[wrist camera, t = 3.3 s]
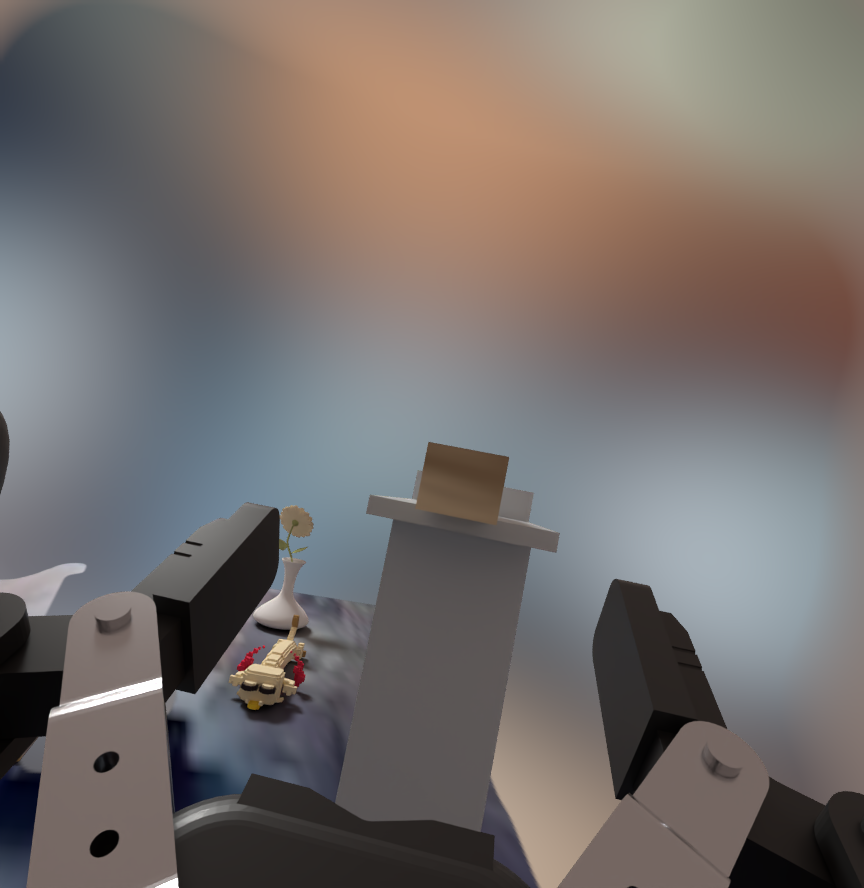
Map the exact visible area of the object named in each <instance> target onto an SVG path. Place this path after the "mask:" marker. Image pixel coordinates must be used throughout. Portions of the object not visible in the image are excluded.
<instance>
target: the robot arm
mask: <svg viewBox="0 0 864 888" xmlns="http://www.w3.org/2000/svg"><path fill="white" fill-rule="evenodd" d="M8 459H9V435H8V429H7V425H6V422H5V419H4V417H3V415H2V413H1V412H0V493H1V490H2V487H3V483H4V479H5V474H6V470H7V465H8ZM279 524H280V515H279V511H278V509H277V508H273V507H268V506H263V505H258V504H253V503H249V502H247V503H244V504H243V505H242V506H241V507H240V508H239V509H238V510H237V511H236V512H235V513H234V514H233V515H232V516H231V517H230V518H229V519H224V518H219V519H217V520H214V521H212V522H210V523H208V524H206V525H204V526H202V527H200V528H199V529H198V530H197V531H195V532H194V533H193V534H192V535H191V536H190V537H189V538H188V539H187V540H186V542H185V543H183V544H181V545H180V547H178V548H177V549H176V550H175V551H174V554H171V555H170V556H169V557H167V559H165V560H164V561H163V562H162V563H161V564H160V565H159V566H158V567H157V568H156V569H155V570H153V571H152V572H151V573H150V574H149V575H148V576H147V577H146V578H145V579H144V580H143V581H142V582H141V583H139V585H137V586H136V587H135V588H134V589H133V590H132V591H131V592H117V593H111V594H107V595H104V596H101V597H98V598H96V599H94V600H92V601H90V602H88V603H87V604H85V605H84V606H82V607H81V608H80V609H79V610H78V611H76V613H75V614H74V615H62V616H28V613H27V609H26V604H25V602H24V600H23V599H22V598H20V597H19V596H17V595H14V594H10V593H0V780H1V778H2V777H3V776H4V775H5V774H6V773H7V772H8V770H9V769H10V768H11V767H12V766H13V765H14V764H15V762H16V761H17V760H18V759H19V758H20V757H21V756H22V754H23V753H24V752H25V751H26V750H27V749H28V748H29V746H30V745H31V744H32V743H33V742H34V741H35V740H36V738H37V737H42V736H46V742H45V750H44V757H43V765H42V772H41V780H40V788H39V795H38V803H37V811H36V818H35V826H34V834H33V842H32V849H31V857H30V865H29V872H28V880H27V888H530V887H529V886H528V885H527V884H526V883H525V882H524V881H523V880H522V879H521V878H519V877H518V876H517V875H516V874H515V873H513V872H512V871H511V870H509V869H508V868H507V867H505V866H504V865H503V864H501V863H499V862H498V861H496V860H494V859H493V857H494V835H490V834H486V833H482V832H478V831H475V830H471V829H467V828H463V827H459V826H455V825H451V824H447V823H443V822H439V821H436V820H405V821H366V820H363V819H361V818H359V817H357V816H356V815H354V814H352V813H351V812H349V811H347V810H346V809H344V808H342V807H340V806H339V805H337V804H335V803H334V802H332V801H330V800H329V799H327V798H325V797H324V796H322V795H320V794H318V793H317V792H315V791H313V790H312V789H310V788H307V787H303V786H299V785H295V784H291V783H287V782H283V781H279V780H276V779H272V778H268V777H264V776H260V775H256V774H251V776H250V778H249V780H248V782H247V784H246V786H245V788H244V790H243V792H242V794H233V795H226V796H220V797H215V798H212V799H208V800H204V801H201V802H199V803H196V804H193V805H191V806H188V807H186V808H184V809H182V810H180V811H178V812H176V813H175V808H174V798H173V786H172V774H171V763H170V751H169V739H168V728H167V716H166V705H165V703H166V701H167V700H168V699H169V697H170V696H171V695H172V693H173V692H174V691H175V689H176V690H180V691H184V692H188V693H192V694H196V692H197V691H198V689H199V688H200V687H201V685H202V684H203V682H204V681H205V680H206V678H207V677H208V675H209V674H210V672H211V671H212V670H213V668H214V667H215V665H216V664H217V662H218V661H219V660H220V658H221V657H222V655H223V654H224V652H225V651H226V650H227V648H228V647H229V645H230V644H231V642H232V641H233V640H234V638H235V637H236V635H237V634H238V632H239V631H240V630H241V628H242V627H243V625H244V624H245V623H246V621H247V620H248V618H249V617H250V615H251V614H252V613H253V611H254V610H255V608H256V607H257V605H258V604H259V603H260V601H261V600H262V598H263V597H264V595H265V594H266V593H267V591H268V590H269V588H270V587H271V585H272V583H273V581H274V579H275V576H276V573H277V569H278V563H279ZM593 663H594V669H595V675H596V681H597V687H598V694H599V700H600V706H601V712H602V718H603V724H604V730H605V736H606V743H607V748H608V755H609V761H610V767H611V773H612V779H613V785H614V791H615V797H616V799H619V800H622V801H621V802H620V803H619V805H618V806H617V808H616V809H615V810H614V812H613V813H612V814H611V816H610V817H609V818H608V820H607V821H606V822H605V824H604V825H603V827H602V828H601V829H600V831H599V832H598V833H597V835H596V836H595V838H594V839H593V840H592V841H591V843H590V844H589V846H588V847H587V848H586V850H585V851H584V852H583V854H582V855H581V856H580V858H579V859H578V860H577V862H576V864H575V865H574V866H573V867H572V869H571V870H570V871H569V873H568V874H567V875H566V877H565V878H564V879H563V881H562V882H561V883H560V885H559V886H558V888H864V795H862V794H860V793H855V792H848V791H843V792H838V793H836V794H834V795H833V796H832V797H831V798H830V800H829V801H828V803H827V804H826V806H825V805H823V804H821V803H819V802H817V801H815V800H813V799H811V798H809V797H807V796H805V795H802V794H801V793H799V792H797V791H795V790H793V789H791V788H789V787H787V786H785V785H783V784H781V783H779V782H777V781H775V780H774V779H772V778H770V777H769V776H768V773H767V770H766V768H765V766H764V764H763V762H762V761H761V759H760V758H759V757H758V755H757V754H756V753H755V751H754V750H753V749H752V748H751V747H750V746H749V745H748V744H747V743H746V742H744V741H743V740H742V739H741V738H740V737H738V736H737V735H736V734H734V733H732V732H731V731H729V730H727V727H726V725H725V723H724V720H723V717H722V715H721V713H720V710H719V708H718V705H717V703H716V700H715V698H714V695H713V693H712V691H711V688H710V686H709V683H708V681H707V678H706V676H705V674H704V671H702V666H701V664H700V661H699V659H698V656H697V655H695V649H694V646H693V644H692V641H691V639H690V637H689V634H688V632H687V631H686V630H685V628H684V627H683V626H682V625H681V624H680V623H679V622H678V620H677V619H676V618H675V617H674V616H673V615H672V614H671V613H667V612H663V611H659V609H658V606H657V604H656V601H655V598H654V596H653V592H652V590H651V588H650V586H648V585H643V584H638V583H633V582H629V581H624V580H618V579H614V580H613V581H612V583H611V585H610V588H609V591H608V594H607V597H606V600H605V603H604V606H603V609H602V612H601V615H600V618H599V621H598V624H597V627H596V630H595V634H594V639H593Z"/></svg>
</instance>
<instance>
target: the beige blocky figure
mask: <svg viewBox="0 0 864 888" xmlns="http://www.w3.org/2000/svg"><path fill="white" fill-rule="evenodd" d="M299 616H300V615H295V614H294V616H293V619H292V627H291V630H290V633H289V635H288V638H287V640H283V639H279V640H278V642H277V643H276V644H275V645H274V646H273V647H272V650H271V652H270V653H269V654H268V655H267V657H266V658H265V659H264V660H263V661H262V664H261V665H258V664H253V661H254V659H253V658H252V656H253V653H254V654H255V653H258V649H259V650H260V649H261V647H258V649H256V648H254V651H253V652H249V653H247V654H246V656H245V659H244V660H242V661H241V663H240V664H239V665H238V667H237V670H239V671H238V672H237V673H236V675H231V676H230V679H229V683H233V686H238V684H239V685H241V686H240V690H239V692H237V695H239V696H240V699H242V700H244V701H245V702H246V703H247V704H248V706H247V708H249V709H253V710H256V709H259V708H260V707H261V706H263V704H267V705H273V704H274V703H276V702H278V703H279V702H282V701H283V700H284V697H282V698H280V694H281V689H282V685H283V684H284V687H283V691H282V692H283V693H286V695H287V696H291V694H294V695H295V694H296V690H297V687H299V684H301V683H302V682H304V680H305V674H304V671H302V670H303V666H304V664H303V663H302V661H299V659H301V658H302V657H305V655H306V651H303V648H304V644H305V643H299V645H298V647H297V645H296V643H294V642H295V641H293V639H294V636H295V634H296V630H297V628H298V624H299ZM263 648H265V646H263ZM291 659H293V660H295V661H298V665H297V666H294V669H293V673H295V677H294V680H295V681H293V680H289V679H286V678H284V676H285V672H284V670H283V669H284V667H285V666H286V665H287V663H288V662H290V661H291ZM250 665H251V666H250Z"/></svg>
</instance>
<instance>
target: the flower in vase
mask: <svg viewBox="0 0 864 888" xmlns="http://www.w3.org/2000/svg"><path fill="white" fill-rule="evenodd" d="M282 511H283V512H281V515H280V519H281V524H283V525H284V526H283V528H284V529H285V530H286V531H287V532H288V533H289V535H288V538H287V544H286V543H285V542H284V541H283V540H281V539H279V549H281V550H285V549H286V548H287V547H288V551H289V554H290V558H282V560H283V563H284V566H285V576H284V583H283V587H282V590H281V592H280V594H279V595H278V596H277V597H275V598H274V599H272V600H270V601H269V602H267V603H265V604H263V605H262V606H260V607H259V608H258V609H256V610H255V612H254V614H253V616H254V619H255V620H256V621H257V622H259V623H260V624H262V625H264V626H267V627H271V628H275V629H282V630H291V627H292V619H293V616H294V614H295V615H300V616H299V624H298V628H297V629H299V628H303V627H305V626H306V625H307V624H308V622H309V621H308V616H307V615H306V613H305V612H304V610H303V609H302V608H301V607H300V606H299V604H298V603H297V602H296V601H295V599H294V597H293V588H294V583H295V580H296V577H297V574H298V572H299V570H300V568H301V567H302V566H303V565H304V564H305V563H306V562H305V561H303V560H300V559H295V558H292V555H291V552H290V549H289V544H288V540H289V537H290V534H291V533H292V535H293V536H296V537H301V536H302V537H305V536H310V533H309V532H312V529H313V523H312V522H311V521H312V518H311V517H309V513H307V512H305V511H304V509H303V508H298V507H297V506H292V505H291V506H290V507H285V509H284V508H283V509H282ZM306 548H307V547H306ZM306 548H300V549H297V550H295V551H294V552H292V553H296V552H300V551H302V550H304V549H306Z"/></svg>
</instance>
